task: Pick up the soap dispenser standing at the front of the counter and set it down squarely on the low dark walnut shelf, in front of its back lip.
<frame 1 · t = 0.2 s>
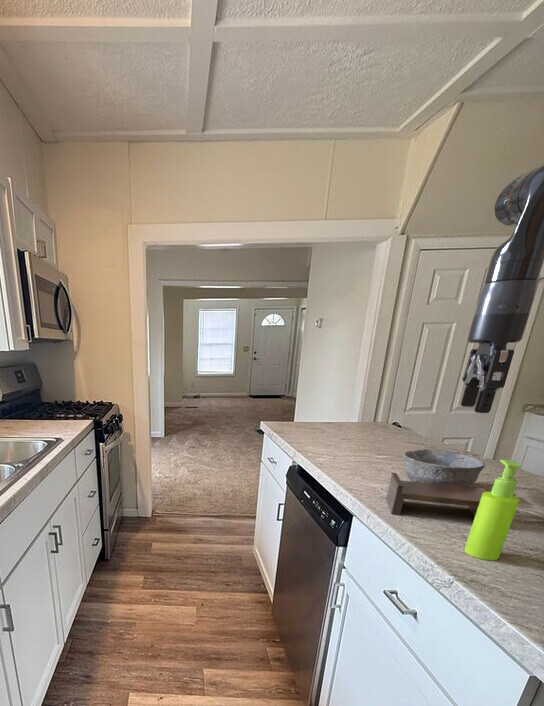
hand: (473, 409, 75), 30 cm above the countertop, tool pointing down, fingers open, 8 cm apart
soap dispenser: (480, 553, 86), on the countertop
bowl: (434, 489, 124), on the countertop
shelf: (434, 511, 107), on the countertop
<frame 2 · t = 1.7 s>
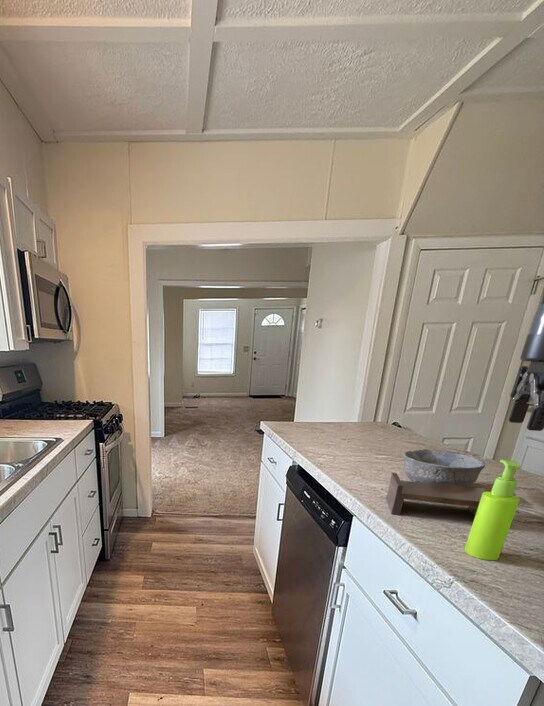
hand: (524, 426, 75), 27 cm above the countertop, tool pointing down, fingers open, 8 cm apart
nothing on the countertop moved.
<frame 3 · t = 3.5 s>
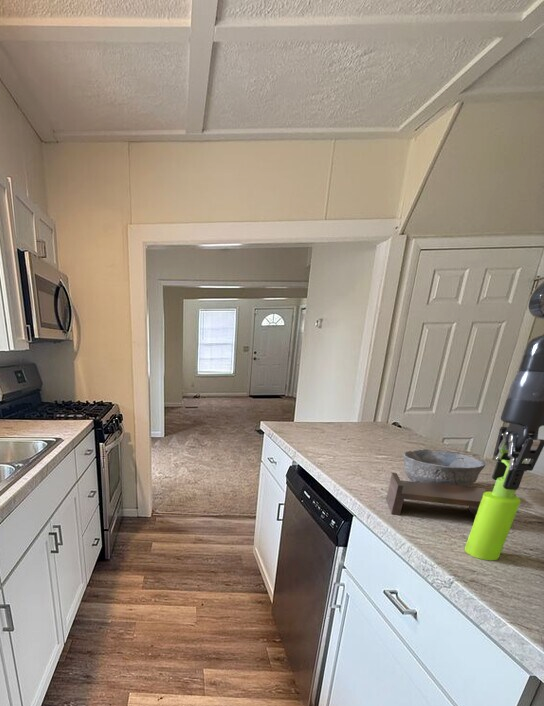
hand: (504, 483, 80), 16 cm above the countertop, tool pointing down, fingers closed on soap dispenser, 5 cm apart
soap dispenser: (480, 552, 86), on the countertop, touching gripper
everything else where it was.
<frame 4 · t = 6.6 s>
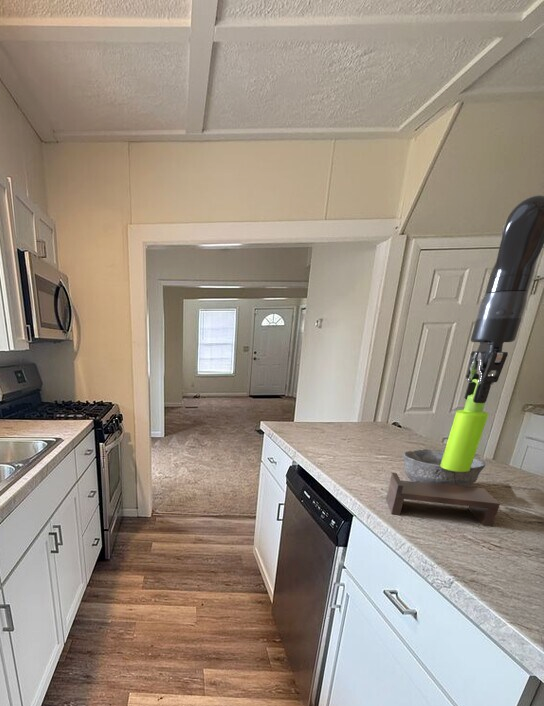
hand: (474, 400, 90), 30 cm above the countertop, tool pointing down, fingers closed on soap dispenser, 5 cm apart
soap dispenser: (454, 467, 96), point 14 cm above the countertop, touching gripper
everything else where it was.
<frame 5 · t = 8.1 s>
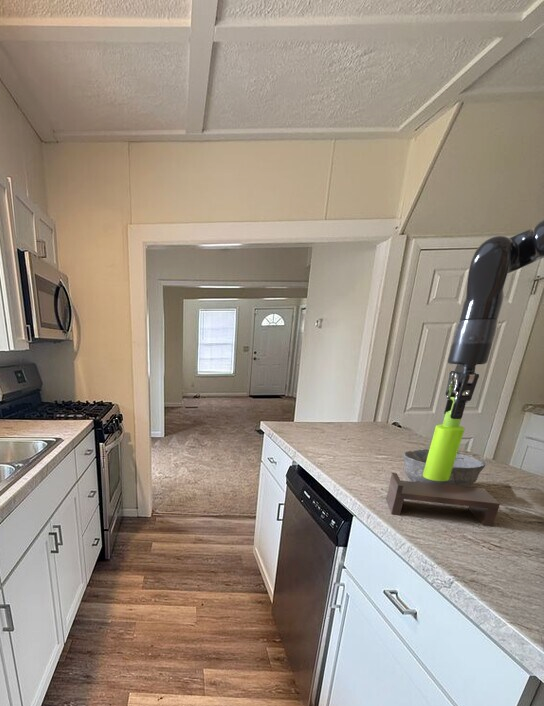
hand: (452, 416, 98), 25 cm above the countertop, tool pointing down, fingers closed on soap dispenser, 5 cm apart
soap dispenser: (435, 477, 104), point 9 cm above the countertop, touching gripper
everything else where it was.
when the fingers open (22 cm above the countertop, at t = 9.6 s): soap dispenser stays where it is, resting on shelf.
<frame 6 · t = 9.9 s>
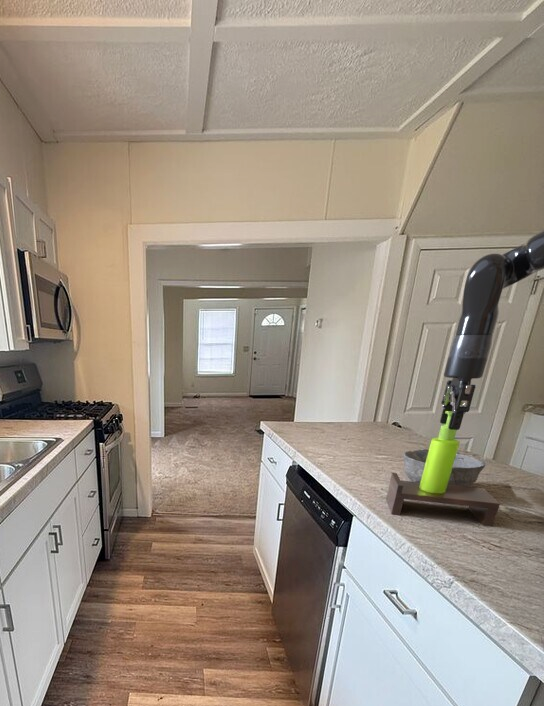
hand: (448, 426, 99), 23 cm above the countertop, tool pointing down, fingers open, 8 cm apart
soap dispenser: (431, 489, 106), point 6 cm above the countertop, touching shelf
everything else where it was.
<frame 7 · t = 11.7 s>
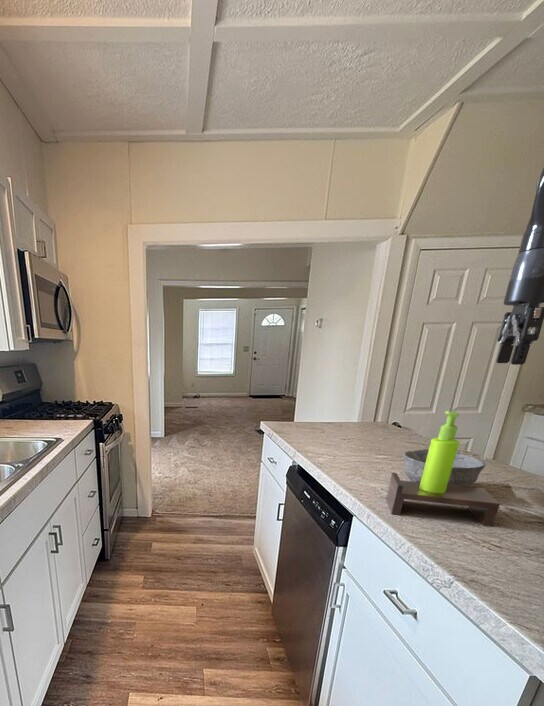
hand: (509, 363, 86), 37 cm above the countertop, tool pointing down, fingers open, 8 cm apart
nothing on the countertop moved.
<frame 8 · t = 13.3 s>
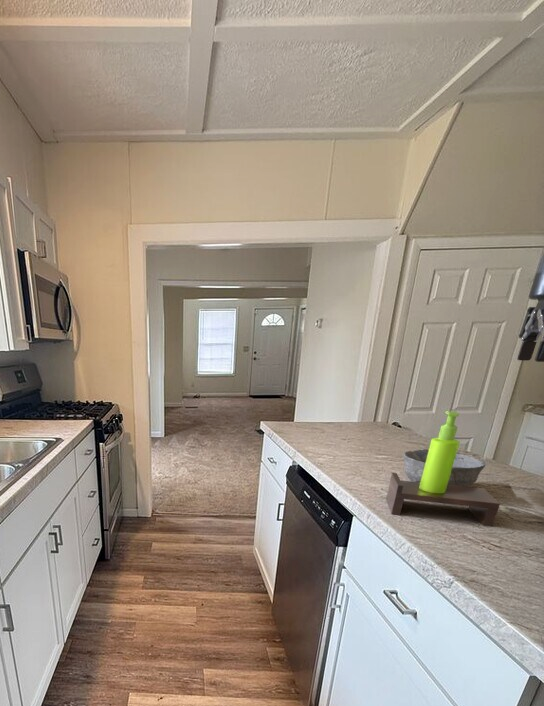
hand: (532, 361, 82), 38 cm above the countertop, tool pointing down, fingers open, 8 cm apart
nothing on the countertop moved.
at the end: soap dispenser inside the target area on the shelf (0.6 cm from its centre), point 5.8 cm above the shelf's base; soap dispenser tilted 0°; the gripper is holding nothing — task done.
